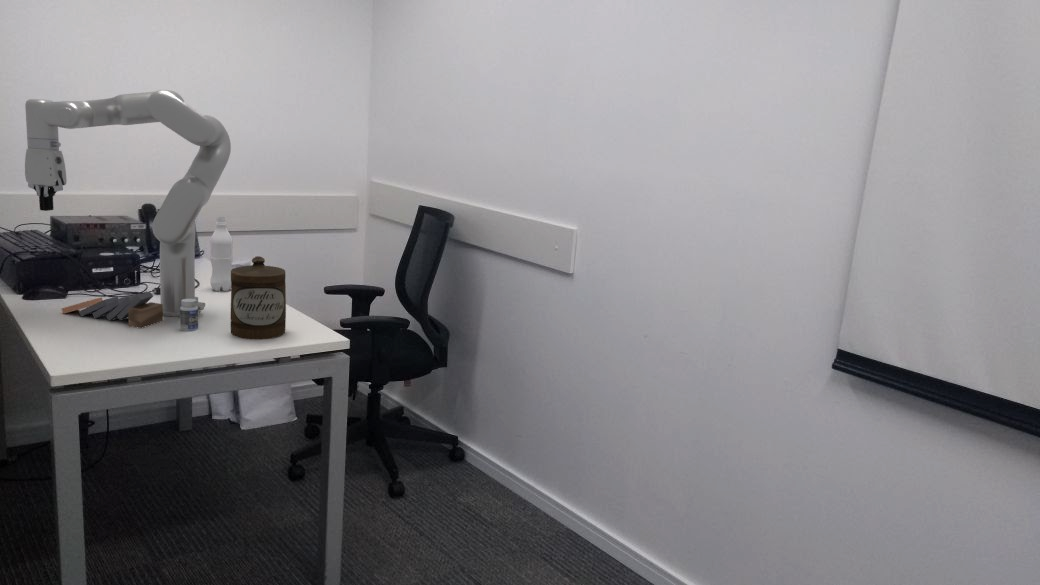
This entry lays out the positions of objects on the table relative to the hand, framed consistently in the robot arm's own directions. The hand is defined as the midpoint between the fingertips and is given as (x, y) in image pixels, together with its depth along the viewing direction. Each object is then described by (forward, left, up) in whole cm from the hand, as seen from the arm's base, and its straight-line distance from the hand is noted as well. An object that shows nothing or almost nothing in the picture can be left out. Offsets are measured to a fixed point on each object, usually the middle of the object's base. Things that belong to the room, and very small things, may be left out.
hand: (46, 210), depth 221 cm
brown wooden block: (-32, 0, -29) cm, 43 cm away
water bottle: (-25, -46, -29) cm, 60 cm away
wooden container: (-63, -7, -29) cm, 70 cm away
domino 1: (-6, 0, -28) cm, 29 cm away
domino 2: (-12, 0, -28) cm, 31 cm away
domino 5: (-25, 0, -28) cm, 37 cm away
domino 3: (-17, 0, -28) cm, 33 cm away
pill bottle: (-45, -1, -29) cm, 54 cm away
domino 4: (-21, 0, -28) cm, 36 cm away
